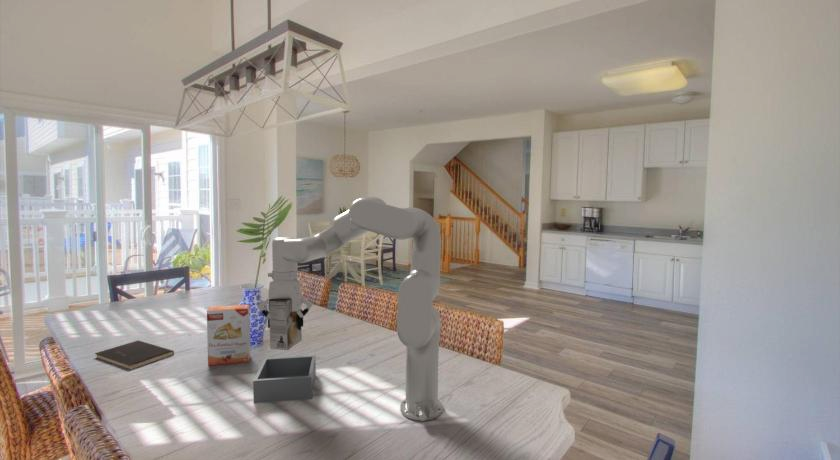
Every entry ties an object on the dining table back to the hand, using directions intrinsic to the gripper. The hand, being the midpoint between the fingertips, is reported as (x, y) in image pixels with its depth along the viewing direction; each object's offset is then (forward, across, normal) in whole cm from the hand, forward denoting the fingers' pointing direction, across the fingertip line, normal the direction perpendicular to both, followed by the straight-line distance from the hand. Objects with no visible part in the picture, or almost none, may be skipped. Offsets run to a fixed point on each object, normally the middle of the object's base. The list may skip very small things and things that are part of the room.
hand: (285, 329), depth 130 cm
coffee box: (+5, 0, 0) cm, 5 cm away
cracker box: (+20, -24, +25) cm, 40 cm away
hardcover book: (+21, -61, +36) cm, 74 cm away
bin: (+20, 0, 0) cm, 20 cm away
